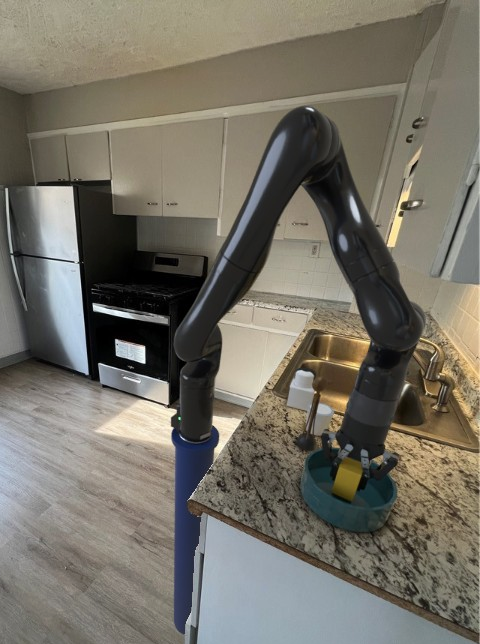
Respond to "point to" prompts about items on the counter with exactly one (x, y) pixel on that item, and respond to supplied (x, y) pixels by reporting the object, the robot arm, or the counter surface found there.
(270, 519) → the counter surface
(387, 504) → the bowl
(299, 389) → the medicine bottle
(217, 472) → the counter surface
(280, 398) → the counter surface
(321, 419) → the white short cylinder
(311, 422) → the wooden tabletop sculpture
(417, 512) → the counter surface
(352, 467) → the sponge
